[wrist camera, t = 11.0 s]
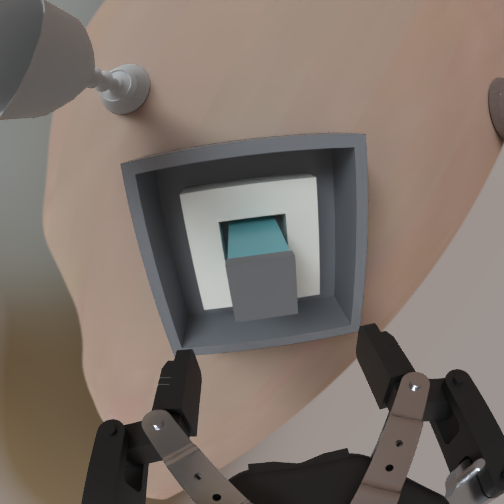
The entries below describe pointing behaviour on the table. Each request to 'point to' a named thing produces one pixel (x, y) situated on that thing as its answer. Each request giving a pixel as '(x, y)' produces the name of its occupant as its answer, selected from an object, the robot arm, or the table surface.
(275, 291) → the peg
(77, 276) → the table surface
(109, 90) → the chalice
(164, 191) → the walled box
